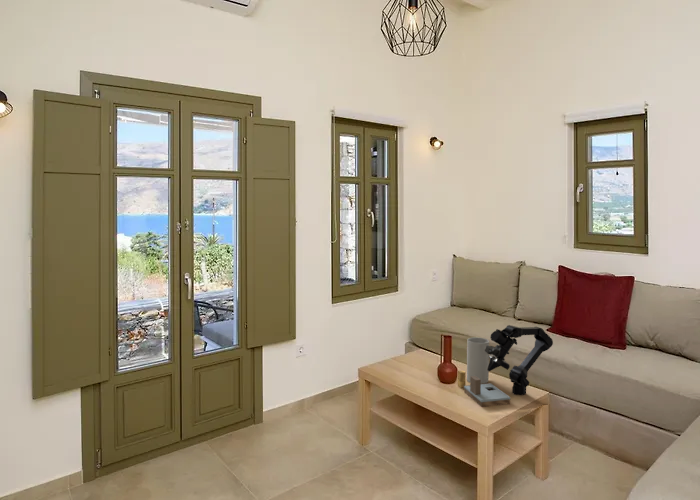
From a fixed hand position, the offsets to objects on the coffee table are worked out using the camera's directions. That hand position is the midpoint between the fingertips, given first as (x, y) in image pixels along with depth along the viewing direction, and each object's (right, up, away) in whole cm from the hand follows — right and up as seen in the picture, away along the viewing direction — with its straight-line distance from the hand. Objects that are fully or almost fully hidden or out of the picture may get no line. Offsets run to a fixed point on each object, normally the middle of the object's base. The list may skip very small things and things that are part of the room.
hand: (488, 370), depth 259 cm
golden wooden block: (-11, -14, +15) cm, 23 cm away
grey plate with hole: (-2, -12, -2) cm, 12 cm away
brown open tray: (-2, -15, -2) cm, 15 cm away
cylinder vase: (+1, -13, +25) cm, 28 cm away
